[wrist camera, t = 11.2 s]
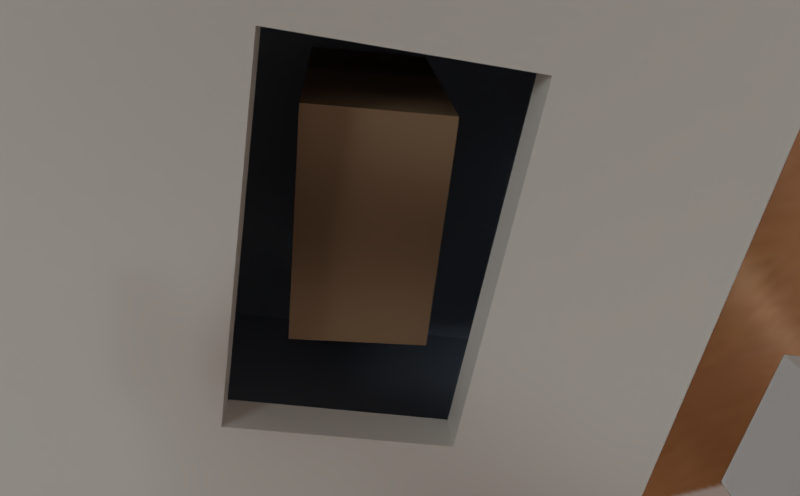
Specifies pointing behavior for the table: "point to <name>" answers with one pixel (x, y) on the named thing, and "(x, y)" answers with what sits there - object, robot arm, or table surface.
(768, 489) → the robot arm
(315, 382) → the coin box
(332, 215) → the brown rectangular block
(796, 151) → the table surface
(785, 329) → the table surface
